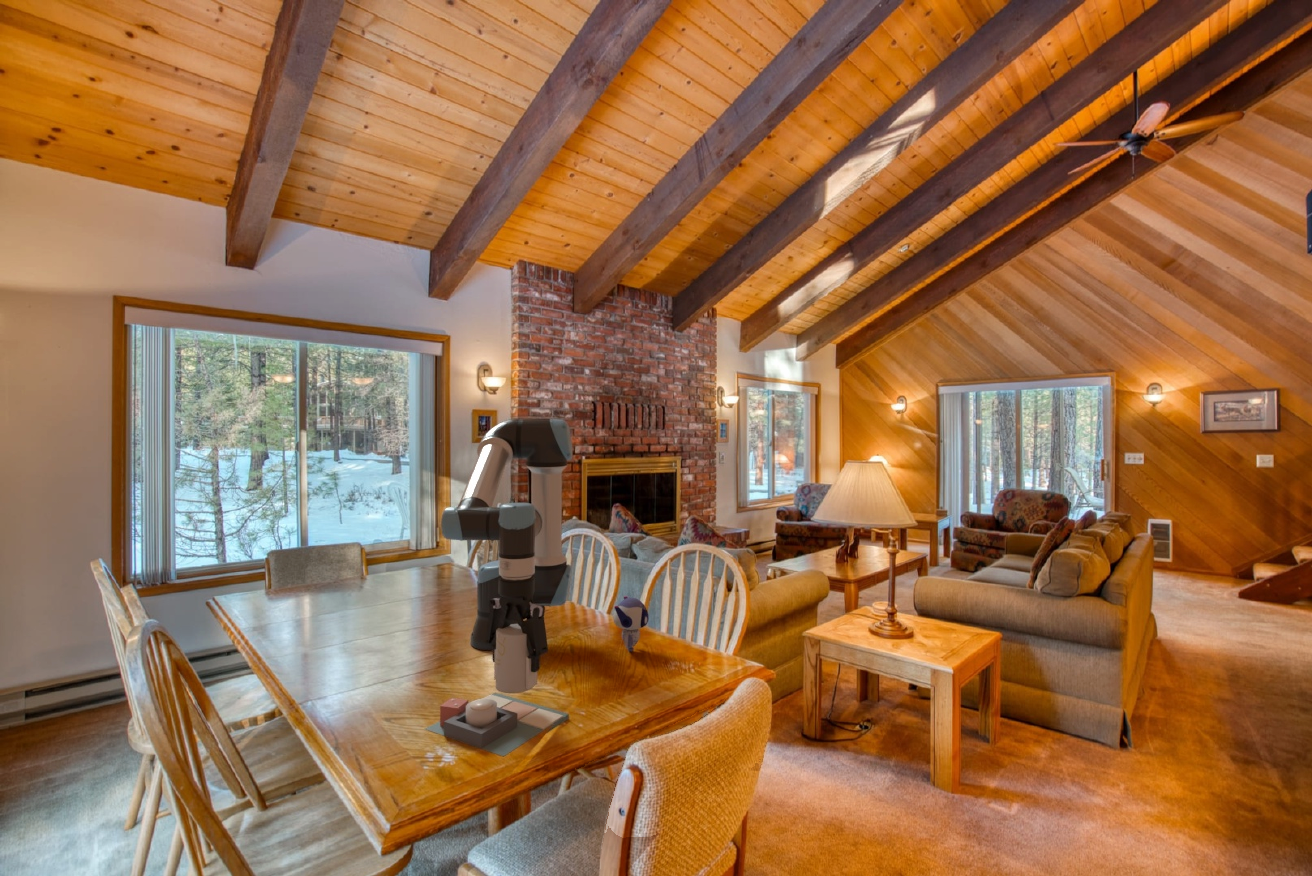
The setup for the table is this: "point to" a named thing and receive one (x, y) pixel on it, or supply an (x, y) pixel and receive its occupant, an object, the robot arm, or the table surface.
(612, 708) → the table surface
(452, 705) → the die
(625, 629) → the toy
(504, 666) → the white cylinder
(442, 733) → the board
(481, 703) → the dome
